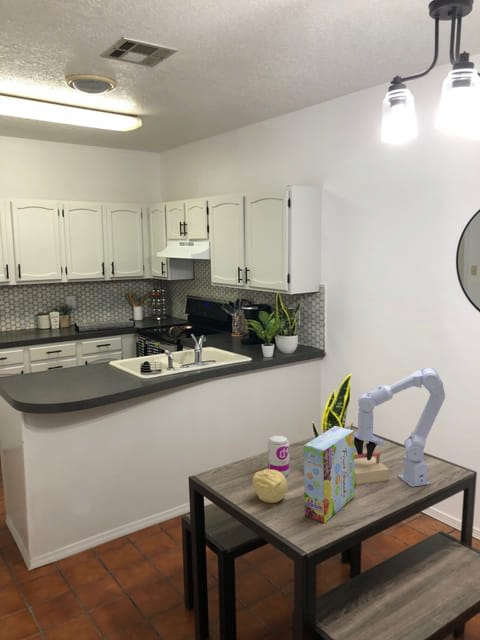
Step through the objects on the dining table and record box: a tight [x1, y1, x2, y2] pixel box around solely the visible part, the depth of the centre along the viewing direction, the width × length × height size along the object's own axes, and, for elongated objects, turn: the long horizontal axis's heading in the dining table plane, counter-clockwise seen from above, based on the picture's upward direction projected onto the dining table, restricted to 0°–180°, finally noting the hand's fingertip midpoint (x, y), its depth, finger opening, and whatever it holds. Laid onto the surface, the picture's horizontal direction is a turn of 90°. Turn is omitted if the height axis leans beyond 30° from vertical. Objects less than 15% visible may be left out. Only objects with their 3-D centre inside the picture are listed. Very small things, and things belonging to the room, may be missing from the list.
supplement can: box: [267, 434, 290, 478], centre depth 202 cm, size 8×8×15 cm
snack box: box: [303, 425, 355, 524], centre depth 176 cm, size 22×9×26 cm, turn 141°
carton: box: [354, 462, 390, 486], centre depth 200 cm, size 12×14×4 cm
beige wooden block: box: [354, 451, 381, 467], centre depth 202 cm, size 6×14×5 cm, turn 105°
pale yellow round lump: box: [251, 468, 288, 504], centre depth 183 cm, size 12×12×11 cm
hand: (364, 458), depth 200 cm, fingers closed on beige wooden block, 3 cm apart
